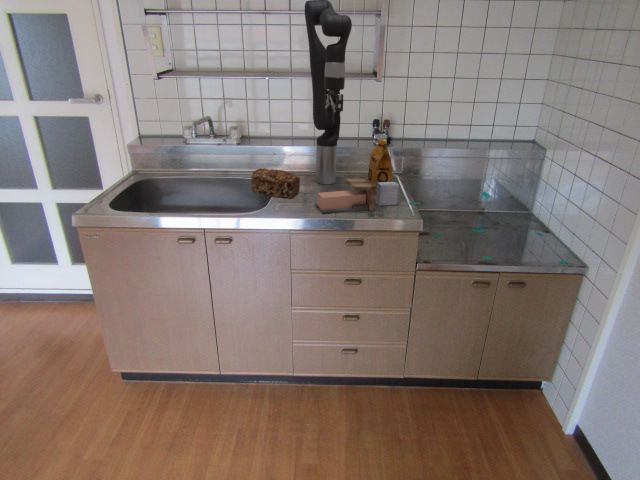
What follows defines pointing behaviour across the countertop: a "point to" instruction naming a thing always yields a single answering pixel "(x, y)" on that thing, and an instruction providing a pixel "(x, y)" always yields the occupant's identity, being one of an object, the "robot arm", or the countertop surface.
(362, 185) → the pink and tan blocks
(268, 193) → the bread
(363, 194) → the rectangular block
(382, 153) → the coffee package
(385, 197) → the medicine box
